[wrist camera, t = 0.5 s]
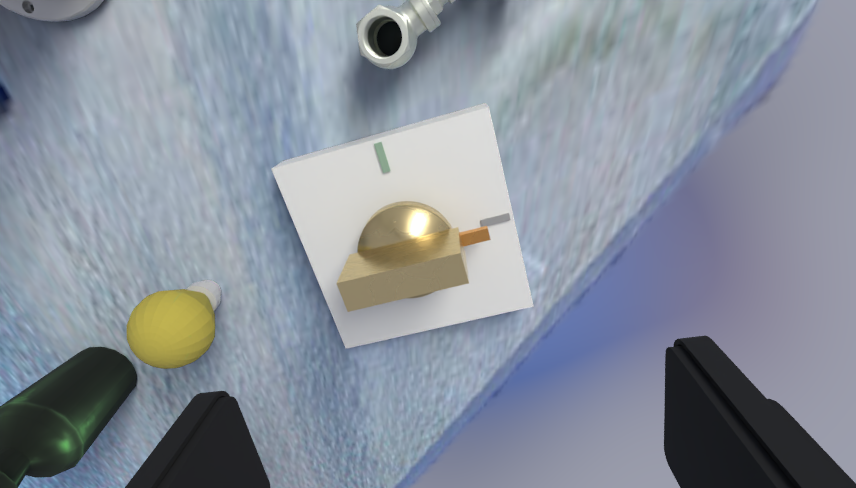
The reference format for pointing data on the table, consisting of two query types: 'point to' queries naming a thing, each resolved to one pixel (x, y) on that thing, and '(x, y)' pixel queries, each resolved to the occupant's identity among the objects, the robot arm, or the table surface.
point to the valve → (412, 21)
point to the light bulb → (174, 325)
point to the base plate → (420, 182)
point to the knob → (406, 256)
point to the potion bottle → (62, 414)
